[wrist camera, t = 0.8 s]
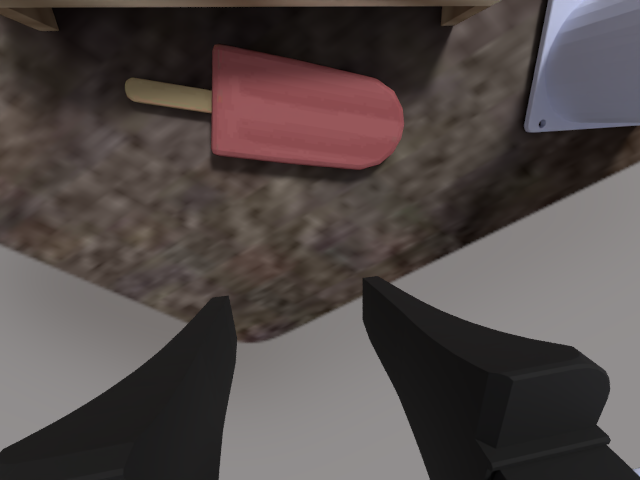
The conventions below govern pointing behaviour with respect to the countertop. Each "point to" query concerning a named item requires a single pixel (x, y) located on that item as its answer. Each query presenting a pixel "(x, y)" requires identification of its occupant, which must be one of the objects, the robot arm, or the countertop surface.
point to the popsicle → (287, 110)
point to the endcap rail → (36, 6)
